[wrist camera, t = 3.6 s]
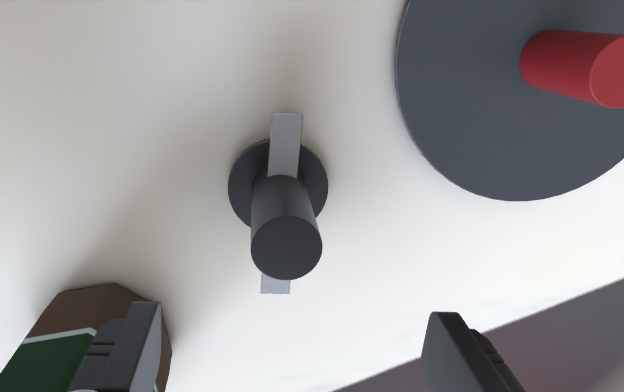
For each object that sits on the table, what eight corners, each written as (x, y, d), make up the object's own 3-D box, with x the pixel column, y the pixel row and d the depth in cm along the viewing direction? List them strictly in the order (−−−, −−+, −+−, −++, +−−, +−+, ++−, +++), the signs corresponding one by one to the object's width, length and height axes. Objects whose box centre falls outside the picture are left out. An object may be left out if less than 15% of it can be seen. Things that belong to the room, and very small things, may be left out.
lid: (331, 94, 25) (357, 122, 19) (535, -192, 22) (648, -272, 15) (533, 240, 29) (608, 302, 23) (730, 21, 26) (878, 25, 20)
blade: (318, 259, 28) (339, 342, 21) (225, 256, 27) (215, 340, 20) (335, 109, 25) (366, 147, 18) (232, 100, 24) (223, 136, 17)
